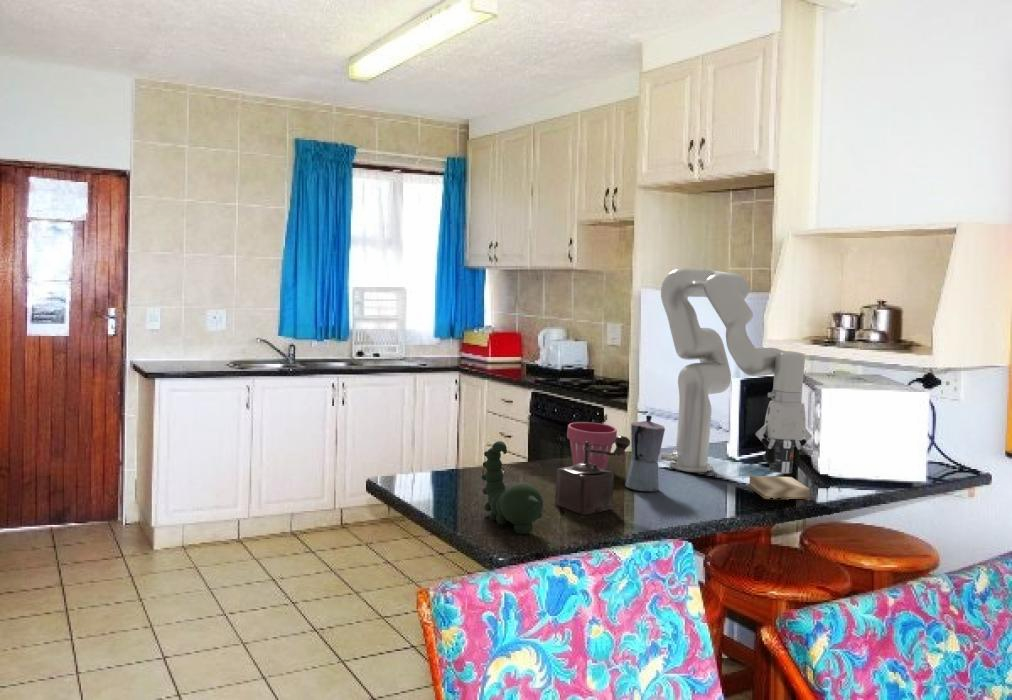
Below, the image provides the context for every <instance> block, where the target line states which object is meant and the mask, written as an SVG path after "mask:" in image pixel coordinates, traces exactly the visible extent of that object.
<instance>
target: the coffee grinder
mask: <svg viewBox="0 0 1012 700" xmlns="http://www.w3.org/2000/svg"><path fill="white" fill-rule="evenodd" d="M614 442H615V443H614V444H615V449H614V451H613V452H612V451H611V452H607V451H602V450H594V449H593V450H592V449H590V448H589V444H590V443H589V442H587V441H586V442H585V443H584V445H585V447H584V450H585V458H584V462H581V463H578V464H576V465H574V466H573V465H571V466H565V467H559V468H557V469H556V483H555V497H554V505H555V506H556V507H559V508H561V509H564V510H567V511H569V512H572V513H573V514H574V513H575V514H577V515H580V516H587V515H588V516H589V515H594V514H598V513H602V512H605V511H609V510H612V509H613V495H614V494H613V493H614V480H615V479H614V478H615V472H613V471H610V470H606V469H605V470H604V469H601V468H598V467H597V465H594V463H589V461H588V451H589V452H591V453H600V454H605V455H609V456H617V457H619V456H626V453H625V452H626V450H627V448H628V447H629V446H630V445H631V440H630V439H629V437H627V436H624V435H617V436H616V438H615V441H614Z"/></svg>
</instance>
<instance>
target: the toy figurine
mask: <svg viewBox="0 0 1012 700" xmlns="http://www.w3.org/2000/svg"><path fill="white" fill-rule="evenodd" d="M501 452H502V453H503V454H504V455H506V454H507V453H508V447H507V445H506V443H505V442H504V441H501V440H498V441H495V442H494V443H493V444H492V446H491V447H490V448H488V449H487V450H485V451H484V453H483V455H484V457H486V460H485V461H484V462H482V467H483V468H485V469H486V473H483V474H481V479H482V480H483V481H486V484H485V487H483V488H482V493H483V495H487V502H486V503H485V504H484V510H485V511H486V512H489V513H490V514H489V519H490V520H491V521H496V523H497V524H498V525H500V526H503V525H506V523H507V522H510V523H511V524H513V525H514V526H513V529H514V531H515V532H516V534H519V535H527V534H529V533H531V532H532V531H533V528H534V525H533V523H535V521H537V520H539V519H541V518H542V517H543V515H542V511H543V507H544V501H543V497H542V495H541V493H540V491H539V490H538V488H536V487H535V486H534V485H533V484H531V483H527V482H521V481H519V482H515V483H513V484H511V485H509V486H508V487H506V485H505V483H504V474H503V472H502V469H503V463H502V460H501V457H502V453H501Z"/></svg>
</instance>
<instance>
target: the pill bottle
mask: <svg viewBox="0 0 1012 700" xmlns="http://www.w3.org/2000/svg"><path fill="white" fill-rule="evenodd" d="M794 444H795V442H794V440H776V441H775V443H774V445H773V449H774V458H773V463H769V470H770V471H771V472H773V473H776V474H777V473H778V474H791V473H792V472H793V467H794V466H793V465H794V463H793V456H794Z"/></svg>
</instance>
